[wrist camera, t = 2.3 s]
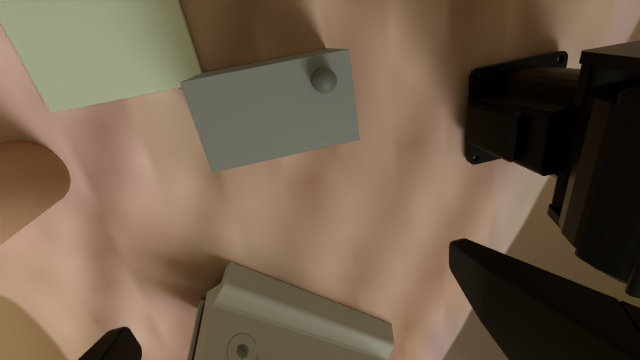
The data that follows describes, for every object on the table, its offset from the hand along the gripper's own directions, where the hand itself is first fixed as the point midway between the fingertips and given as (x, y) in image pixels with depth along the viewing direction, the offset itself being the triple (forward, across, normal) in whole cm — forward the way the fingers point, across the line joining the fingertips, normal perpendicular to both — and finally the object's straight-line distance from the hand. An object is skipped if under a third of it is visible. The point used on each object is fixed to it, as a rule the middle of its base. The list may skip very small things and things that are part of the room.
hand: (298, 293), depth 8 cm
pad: (+12, +7, -9) cm, 17 cm away
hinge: (+12, +2, +16) cm, 20 cm away
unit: (+12, 0, -4) cm, 13 cm away
